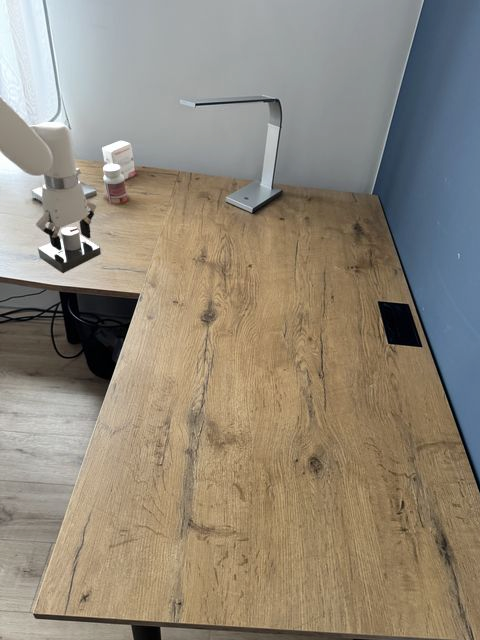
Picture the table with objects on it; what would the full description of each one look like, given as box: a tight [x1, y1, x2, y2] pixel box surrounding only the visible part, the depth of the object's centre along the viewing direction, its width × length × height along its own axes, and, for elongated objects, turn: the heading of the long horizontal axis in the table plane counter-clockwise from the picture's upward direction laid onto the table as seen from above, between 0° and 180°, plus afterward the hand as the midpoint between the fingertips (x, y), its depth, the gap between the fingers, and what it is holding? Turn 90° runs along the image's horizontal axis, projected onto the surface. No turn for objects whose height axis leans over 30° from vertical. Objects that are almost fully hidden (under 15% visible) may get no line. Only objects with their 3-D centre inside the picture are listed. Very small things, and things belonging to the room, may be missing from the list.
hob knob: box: [60, 226, 81, 251], centre depth 131 cm, size 4×4×5 cm
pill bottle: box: [102, 164, 128, 205], centre depth 155 cm, size 6×6×11 cm
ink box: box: [101, 140, 136, 181], centre depth 166 cm, size 9×5×12 cm, turn 145°
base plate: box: [37, 234, 102, 274], centre depth 133 cm, size 12×10×3 cm
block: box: [30, 180, 98, 203], centre depth 156 cm, size 16×13×4 cm
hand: (71, 241), depth 132 cm, fingers open, 8 cm apart
